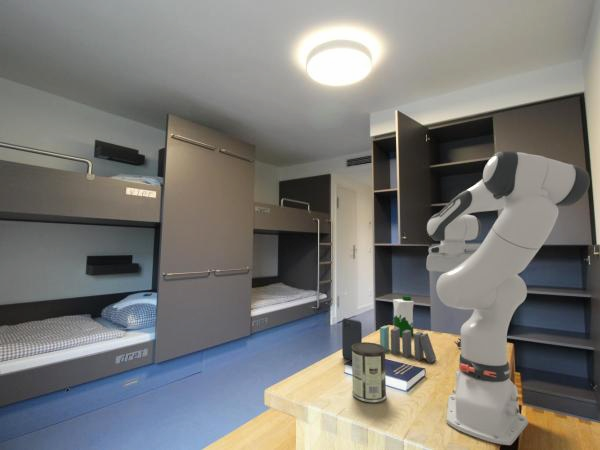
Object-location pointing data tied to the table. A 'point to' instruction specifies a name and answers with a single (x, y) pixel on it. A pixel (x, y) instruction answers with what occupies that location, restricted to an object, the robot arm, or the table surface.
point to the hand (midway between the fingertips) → (454, 283)
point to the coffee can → (368, 372)
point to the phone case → (350, 336)
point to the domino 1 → (384, 337)
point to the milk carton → (403, 314)
